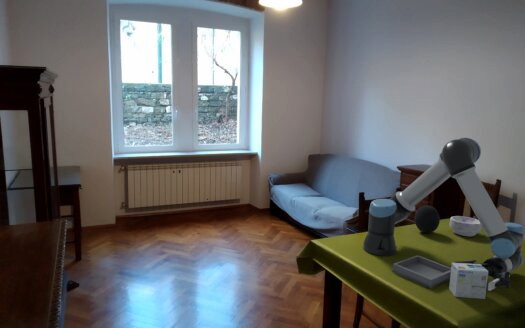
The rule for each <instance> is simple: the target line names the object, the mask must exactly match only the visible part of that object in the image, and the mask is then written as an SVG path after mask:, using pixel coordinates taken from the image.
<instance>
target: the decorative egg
mask: <svg viewBox="0 0 525 328" xmlns="http://www.w3.org/2000/svg"><path fill="white" fill-rule="evenodd" d="M440 221H441V217H440V214H439V212H438V210H437V209H436V208H435V207H434V206H431V205H428V204H426V205H423V206H420V207H419V208H418V209H417V210H416V212H415V214H414V223H415V226H416V227H417V229H418V230H419V231H420V232H422V233H424V234H431V233H433V232H435V231H436V230H437V229H438V227H439V225H440Z"/></svg>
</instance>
